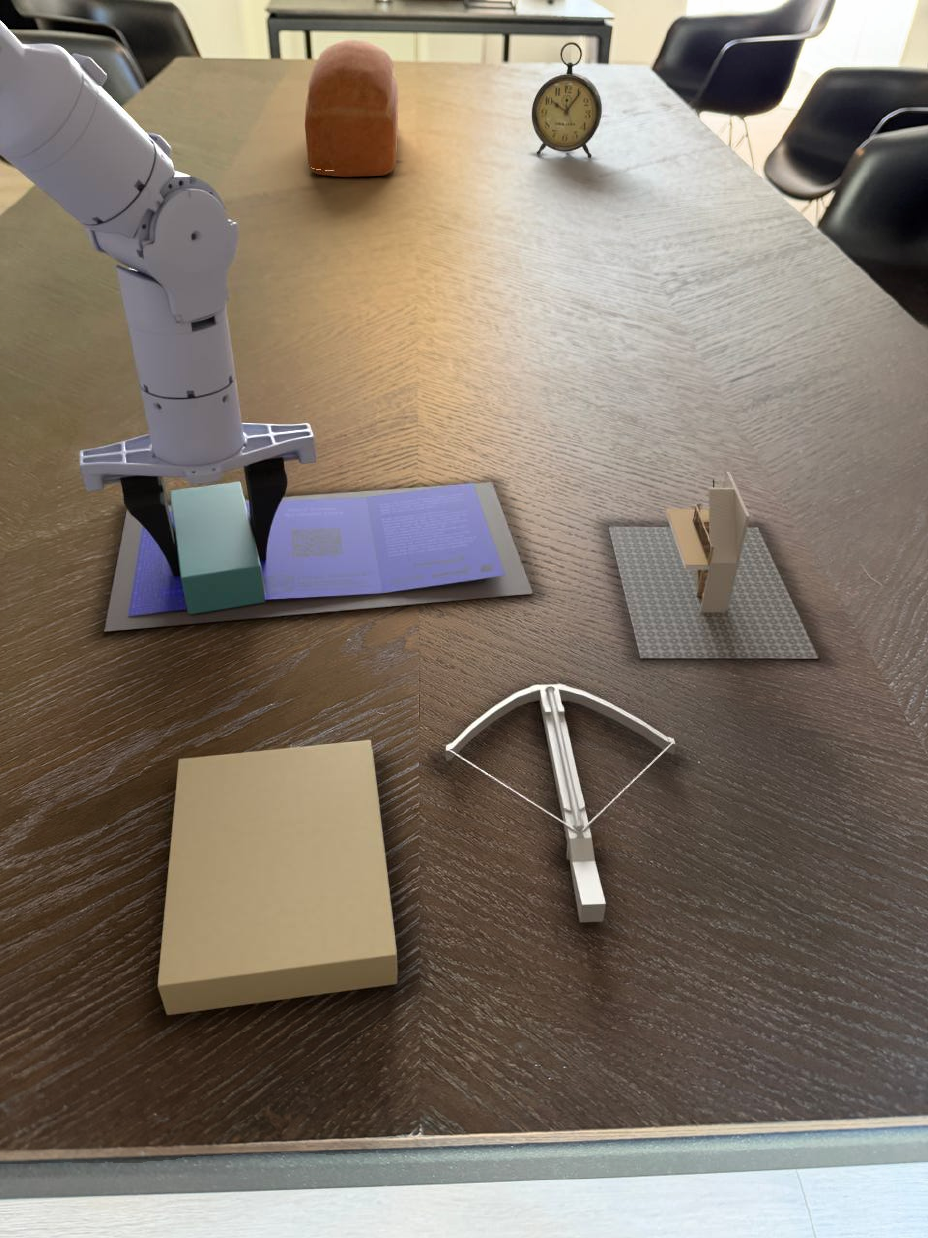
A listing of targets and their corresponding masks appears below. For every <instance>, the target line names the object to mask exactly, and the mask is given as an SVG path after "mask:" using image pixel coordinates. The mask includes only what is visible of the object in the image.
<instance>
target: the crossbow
mask: <svg viewBox="0 0 928 1238" xmlns="http://www.w3.org/2000/svg"><path fill="white" fill-rule="evenodd" d="M538 701H539V705H540V710H541V716H542V720H543V725H544V732H545V735H546V741H547V746H548V752H549V757H550V761H551V767H552V773H553V776H554V782H555V787H556V792H557V793H556V794H557V798H558V803H559V808H560V813H561V818H562V819H560V818H559V817H558V816H556V815H554V814H553V813H551V812H549V811H548V810H546V809H545V808H543V807H542V806H540V805H538V804H537V803H535V802H534V801H532V800H531V799H529V798H527V797H526V796H524V795H522V794H520V793H519V792H518V791H516V790H515V789H513V788H512V787H510V786H509V785H507V784H505V783H504V782H502V781H500V780H499V779H497V778H496V777H494V776H493V775H491V774H489V773H488V772H486V771H485V770H483V769H481V768H480V767H478V766H477V765H476V764H474V763H472V762H471V761H469V760H467V759H466V758H464V757H463V756H461V755H460V754H459V753H460V751H462V749H463V748H465V747H466V745H467V744H468V743H469V742H471V740H473V739H474V738H475V737H477V736H478V735H479V734H480V733H481V732H483V731H484V730H485V729H486V728H488V727H489V726H491V724H493V723H494V722H495V721H497V720H499V719H500V718H501V717H503V716H505V715H507V714H508V713H509V712H511V711H513V710H515V709H516V708H517V707H521V706H522V705H523V706H524V705H525V704H528V703H534V702H538ZM563 702H570V703H575V704H578V705H581V706H584V707H586V708H588V709H590V710H593V711H595V712H597V713H599V714H602V715H604V716H606V717H608V718H610V719H612V720H613V721H615V722H617V723H618V724H621V725H623V726H624V727H626V728H628V729H629V730H632V731H633V732H635V733H637V734H639V735H641V736H642V737H644V739H647V740H648V741H649V742H651V743H652V744H654V745H655V746H657V747H659V748H660V749H662V751H661V752H660V753H659V754H658V755H657V756H656V757H655V758H654V759H653V760H652V761H651V762H650V763H648V765H646V766H645V768H644V769H642V770H641V771H640V772H639V774H637V775H636V776H635V777H634V778H633V780H631V781H630V782H629V783H628V784H627V785H626V786H625V787H624V788H622V790H621V791H620V792H619V793H618V794H617V795H615V796H614V798H613V799H612V800H611V801H610V802H609V803H608V804H606V805H605V806H604V807H603V808H602V809H601V810H600V811H599V812H598V813H597V814H596V815H595V816H594V817H593V818H592V819H591V820H590V821H589V819H588V815H587V810H586V804H585V800H584V796H583V793H582V789H581V788H582V787H581V784H580V779H579V775H578V770H577V766H576V761H575V756H574V752H573V748H572V743H571V739H570V734H569V729H568V725H567V721H566V717H565V712H566V711H565V707H564V705H563V704H562V703H563ZM675 751H676V741H675V739H674V738H673V737H671V736H668V735H667V736H666V735H665V734H663V733H662V732H660V731H659V730H657V729H656V728H654V727H653V726H651V725H650V724H648V723H646V722H645V721H643V720H642V719H641V718H638V717H637V716H635V715H634V714H631V713H629V712H627V711H625V710H624V709H622V708H621V707H618V706H616V705H615V704H613V703H611V702H609V701H607V700H605V699H602V698H600V697H599V696H595V694H594V695H593V694H591V693H589V692H587V691H585V690H582V689H579V688H578V689H577V688H575V687H572V686H571V687H570V686H567V685H566V684H562V683H557V684H556V683H555V684H539V683H538V684H533V685H530V687H527V688H524V689H521V690H519V691H516V692H514V693H512V694H511V695H510V696H508V697H507V698H505V699H503V700H502V701H500V702H498V703H497V704H495V705H494V706H493V707H491V708H490V709H488V710H487V711H486V712H485V713H483V714H482V715H481V716H480V717H478V718H477V719H475V721H473V722H472V723H470V725H469V726H468V727H466V728H465V729H464V730H463V732H462V733H460V735H458V736H457V737H456V738H455V739H454V740H453V741H452V742H450V743H448V744H446V745H445V762H446V763H447V762H449V761H451V760H452V759H453V758H455V757H457V758H459V759H460V760H462V761H464V762H465V763H466V764H468V765H469V766H471V767H473V768H474V769H476V770H478V771H479V772H481V774H484V775H485V776H487V777H488V778H490V779H492V780H493V781H495V782H496V783H498V784H500V785H501V786H503V787H504V788H506V789H508V790H509V791H511V792H512V793H514V794H515V795H516V796H518V797H520V798H522V799H523V800H524V801H527V803H529V804H531V805H533V806H534V807H536V808H537V809H539V810H541V812H544V813H545V814H547V815H548V816H550V817H551V818H553V819H555V820H557V821H558V822H560V823H561V824H563V829H564V833H565V838H566V843H567V844H566V860H567V861H569V865H570V873H571V879H572V885H573V890H574V896H575V903H576V907H577V915H578V920H579V923H598V922H599V923H600V922H601V923H602V922H604V919H605V918H604V917H605V911H606V906H607V903H606V899H605V895H604V890H603V887H602V884H601V883H602V882H601V879H600V876H599V871H598V867H597V864H596V859H595V852H594V845H593V838H592V833H591V832H592V831H591V828H590V825H591V824H592V823H594V822H595V820H597V818H599V817H600V816H601V815H602V814H603V813H604V812H605V811H606V810H607V809H608V808H609V807H610V806H611V805H612V804H613V803H614V802H615V801H616V800H618V798H619V797H620V796H622V794H624V792H625V791H626V790H628V788H630V786H632V785H633V784H634V783H635V782H636V781H637V780H638V779H639V778H640V777H641V776H642V775H643V774H644V773H645V772H646V771H647V770H648V769H649V768H650V767H651V766H653V764H654V763H655V762H656V761H658V759H659V758H660V757H661V756H663V754H665V753H668V754H671V755H673V756H674V755H675Z"/></svg>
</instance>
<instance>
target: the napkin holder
mask: <svg viewBox="0 0 928 1238" xmlns="http://www.w3.org/2000/svg"><path fill="white" fill-rule="evenodd" d="M707 489H708V492H707V493H708V494H707V495H708V508H707V509H706V508H701V504H702V503H701V502H697V503H695V504H694V506H695V508H666V510H665V515H666V518H667V522H668V525H669V527H670V530H671V533H672V536H673V539H674V542H675V545H676V548H677V551H678V554H679V557H680V560H681V563H682V566H683V569H684V570H685V571H695V572H696V593H695V595H696V596H701V602H700V607H699V612H700V613H720V612H726V611H728V610H729V607H730V602H731V598H732V594H733V590H734V586H735V581H736V577H737V573H738V569H739V565H740V561H741V556H742V552H743V548H744V544H745V540H746V535H747V531H748V527H749V522H750V519H751V515H750V513H749V510H748V509H747V507H746V503H745V502H744V500H743V497H742V495H741V493H740V491H739V489H738V487H737V485H736V482H735V480H734V478H733V476H732V474H731V472H730V471H726V472H725V476H724V481H723V486H722V487H715V479H712V487H708V488H707Z"/></svg>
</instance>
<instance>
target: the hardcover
mask: <svg viewBox="0 0 928 1238" xmlns="http://www.w3.org/2000/svg"><path fill="white" fill-rule="evenodd" d="M372 745H373V744H372V740H371V739H366V740H356V741H347V742H336V743H328V744H317V745H306V746H297V747H287V748H277V749H267V750H257V751H248V752H237V753H228V754H218V755H217V754H216V755H207V756H197V757H196V756H195V757H187V758H186V757H185V758H179V759H178V762H177V772H176V773H177V774H176V782H175V783H176V786H175V794H174V806H173V815H172V827H171V836H170V837H171V838H170V846H169V847H170V848H169V859H168V861H169V862H168V870H167V872H168V873H167V879H166V881H167V882H166V890H165V891H166V892H165V900H164V901H165V902H164V910H163V911H164V914H163V923H162V934H161V945H160V955H159V965H158V977H157V989H158V992H159V995H160V998H161V1001H162V1004H163V1007H164V1011H165V1013H166V1015H167V1016H171V1015H178V1014H179V1015H180V1014H187V1013H194V1012H199V1011H201V1012H202V1011H208V1010H215V1009H224V1008H229V1007H237V1006H247V1005H252V1004H260V1003H267V1002H274V1001H282V1000H289V999H296V998H303V997H310V996H311V997H312V996H319V995H325V994H332V993H340V992H347V991H353V990H363V989H370V988H377V987H383V986H384V987H385V986H392V985H397V984H398V974H399V973H398V972H399V971H398V951H397V943H396V934H395V925H394V917H393V908H392V901H391V892H390V883H389V876H388V865H387V857H386V850H385V841H384V833H383V823H382V817H381V816H382V815H381V808H380V807H381V806H380V799H379V790H378V784H377V775H376V766H375V765H376V764H375V759H374V758H375V757H374V749H373V746H372Z"/></svg>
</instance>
